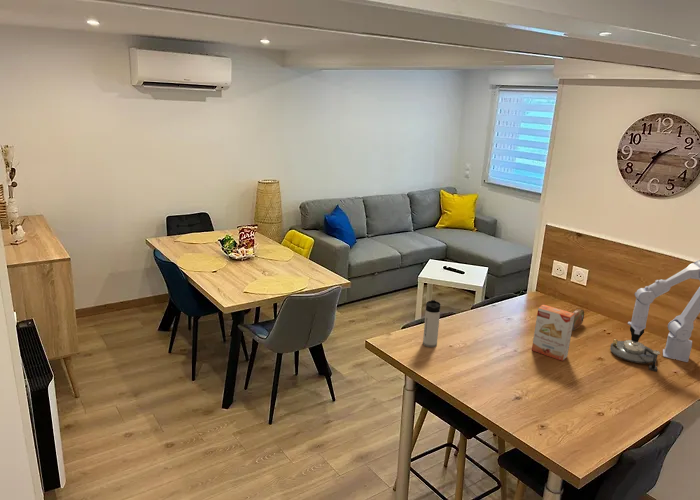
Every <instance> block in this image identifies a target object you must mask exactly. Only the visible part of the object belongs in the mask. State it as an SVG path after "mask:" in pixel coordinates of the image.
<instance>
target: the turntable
mask: <svg viewBox="0 0 700 500" xmlns="http://www.w3.org/2000/svg"><path fill="white" fill-rule="evenodd" d="M624 341H625V340H618V339H616V338H613V342H612V343H610V348H609V350H610V352H611V353H612V354H613V355H614V356H616V357H618V358H620V359H622V360H624V361H628V362H632V363H636V364H652V363H653V358H654V355H652V354H650V353H649V352H646V355H645V354H644V352H643V354H641V355H636V354H631V353H628V352H626V351H625V350H624V349H623V345H624ZM644 346H645V347H644V351H645V348H647V349H649V350H651V351H652V352H653V351H654V349H652V348H650V347H648V346H646V345H644Z"/></svg>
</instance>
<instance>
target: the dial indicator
mask: <svg viewBox="0 0 700 500" xmlns="http://www.w3.org/2000/svg"><path fill="white" fill-rule="evenodd" d="M646 352H649V353H650V354H652V355H654V358H653V362H652V363H651V364H648V371H653V372H658V366H656V365H657V360H658V355H660V354H661V352H660V351H659V350H655V349H653V352H652V351H651V350H649V349H647V348H645V351H644V354H645V355H646Z"/></svg>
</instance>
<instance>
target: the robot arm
mask: <svg viewBox="0 0 700 500" xmlns="http://www.w3.org/2000/svg"><path fill="white" fill-rule="evenodd" d="M689 279H694V280H699V281H700V259H697V260H695V261H694V262H692V263H690V264H688V266H687V267H685V268H684V269H682V270H680V271H678V272H676V273H674V274H673V275H672V276H669V277H668V278H666V279H656V280H654V282H653V283H652V284H649V285H645V286H644V287H640V288H638V289H637V290H636V291H635V292H634V297H635V303H634V307H633V311H632V317H631V321H628V322H627V325H629V326H630V327H629V331H630V334H631V335H630V336H631V338H630V340H633V341H637V342H640V341H639V340H640V339H641V337H642V336H643V335H644V334H645V329H646V327H647V320H648V316H649V310H650V306H651V304H652V303H654V301H655V299H656V298H658V297H660V296H662V295H664V294H665V293H667V292H669V291H670V290H671V288H672V287H673V286H676V285H678V284H681V283H682V282H684V281H686V280H689ZM699 314H700V286H699V287H698V288H697V290H696V291H695V293H694V294H693V295H692V297H691V299H690V301H688V302H687V305H686V306H685V308H684V309H683V311H682V312H681V314H679V315H676V316H675V317H674V318H673V319H672V320H670V321H669V322H668V324H667V329H668V331H669V332H668V335H667V338H666V344H665V347H664V348H663V349H662V357H663V358H667V359H672V360H675V359H676V361H680V362H684V363H689V361H690V360H689V359H690V355H691V352H692V351H691V350H692V347H693V340H691V339H690V338H691V337H692V332H693V330H694V328H695V327H694V321H696V319H697V318H698V316H699Z"/></svg>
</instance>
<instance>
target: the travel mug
mask: <svg viewBox="0 0 700 500" xmlns="http://www.w3.org/2000/svg"><path fill="white" fill-rule="evenodd" d="M425 304H426V305H425V313H424V314H425V315H424V326H423V337H422V338H423V340H422V344H423V345H424V347H427V348H434V347H437V345H438V338H439V337H438V335H439V326H440V316H441V303H440V302H438V301H437V300H435V299H431V300H428V301H427V302H426V303H425Z"/></svg>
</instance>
